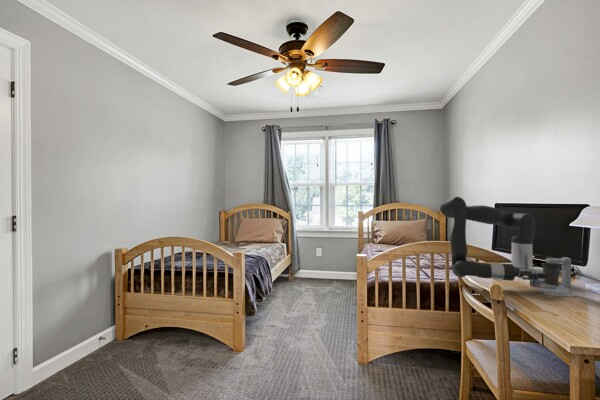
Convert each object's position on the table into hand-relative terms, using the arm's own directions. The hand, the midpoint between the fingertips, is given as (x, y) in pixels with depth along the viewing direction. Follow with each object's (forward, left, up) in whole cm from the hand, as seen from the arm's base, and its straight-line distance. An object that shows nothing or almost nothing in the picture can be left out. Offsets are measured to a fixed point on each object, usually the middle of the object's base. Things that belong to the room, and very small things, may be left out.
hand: (544, 274), depth 136 cm
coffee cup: (-16, +9, -8) cm, 20 cm away
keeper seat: (0, +4, -8) cm, 9 cm away
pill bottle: (0, -3, -6) cm, 7 cm away
